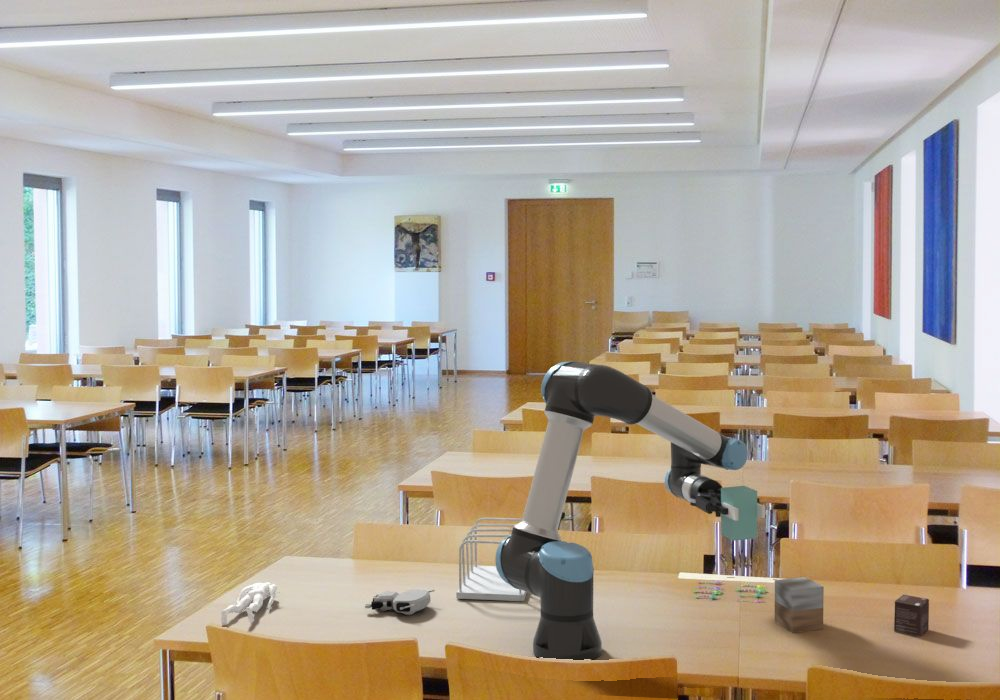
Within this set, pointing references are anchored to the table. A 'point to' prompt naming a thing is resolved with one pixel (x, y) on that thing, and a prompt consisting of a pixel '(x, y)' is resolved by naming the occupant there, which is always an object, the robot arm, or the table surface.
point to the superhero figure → (251, 600)
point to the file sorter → (485, 570)
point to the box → (911, 615)
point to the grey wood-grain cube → (799, 604)
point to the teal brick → (740, 513)
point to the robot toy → (401, 601)
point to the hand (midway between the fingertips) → (750, 513)
